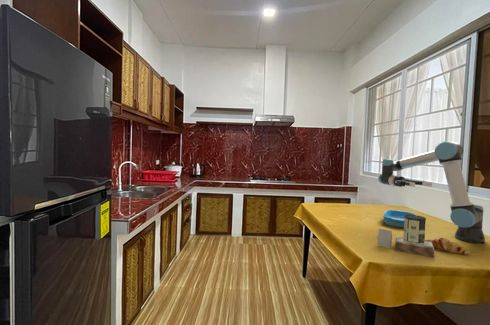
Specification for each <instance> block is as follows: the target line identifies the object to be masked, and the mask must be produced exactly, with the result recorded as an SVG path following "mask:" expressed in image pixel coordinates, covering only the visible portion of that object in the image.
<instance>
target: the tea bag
mask: <svg viewBox="0 0 490 325" xmlns="http://www.w3.org/2000/svg"><path fill="white" fill-rule="evenodd" d="M392 234H393V231H392V230H389V229H384V228H378V232H377V241H376V242H377V245H378V246H377V247H380V246H383V247H382V248H385V247H387V248H386V249H389V248H390V249H391V248H392V244H393V242H392V241H393V240H392V239H393V237H392V236H393V235H392Z"/></svg>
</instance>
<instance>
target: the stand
mask: <svg viewBox="0 0 490 325" xmlns="http://www.w3.org/2000/svg"><path fill="white" fill-rule="evenodd" d="M403 239H404V236H403V237H402V236H396V237H395V239H394V240H395V243H394V244H395V245H394V250H395V251H397V252H403V253H408V254H414V255H419V256H425V257H430V258H434V257H435V248H434V247H433V244H432V242H429V241H424V242H425V243H424V244H412V243H408V242H406V241H404V240H403Z"/></svg>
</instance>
